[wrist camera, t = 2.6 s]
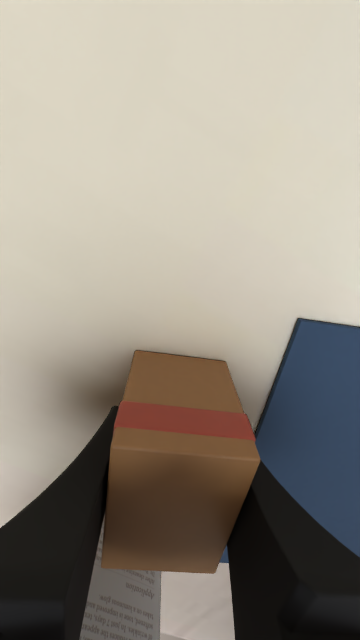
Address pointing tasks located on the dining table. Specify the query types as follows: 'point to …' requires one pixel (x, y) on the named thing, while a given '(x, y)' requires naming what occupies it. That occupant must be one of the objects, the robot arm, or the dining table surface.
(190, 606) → the dining table surface
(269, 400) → the napkin
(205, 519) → the packet
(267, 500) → the robot arm
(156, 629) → the small box
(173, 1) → the dining table surface
